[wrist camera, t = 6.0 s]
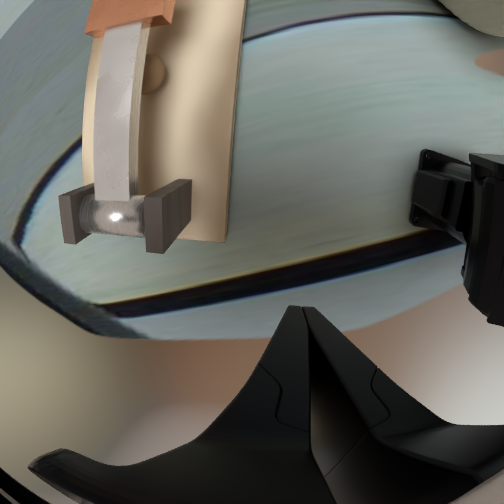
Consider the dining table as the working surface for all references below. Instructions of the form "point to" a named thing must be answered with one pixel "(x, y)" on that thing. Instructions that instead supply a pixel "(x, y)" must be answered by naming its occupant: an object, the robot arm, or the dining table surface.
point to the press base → (177, 126)
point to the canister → (479, 14)
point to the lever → (119, 113)
